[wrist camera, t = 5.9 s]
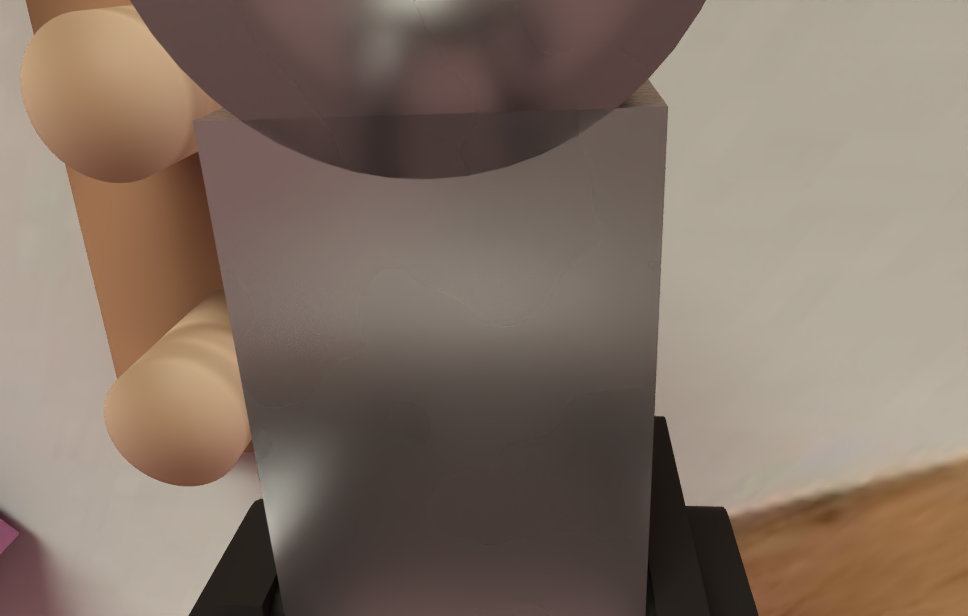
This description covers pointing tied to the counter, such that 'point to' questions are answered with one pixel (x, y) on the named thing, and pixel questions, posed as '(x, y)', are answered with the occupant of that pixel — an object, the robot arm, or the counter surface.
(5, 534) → the teapot
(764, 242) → the counter surface
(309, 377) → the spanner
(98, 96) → the tool rest
